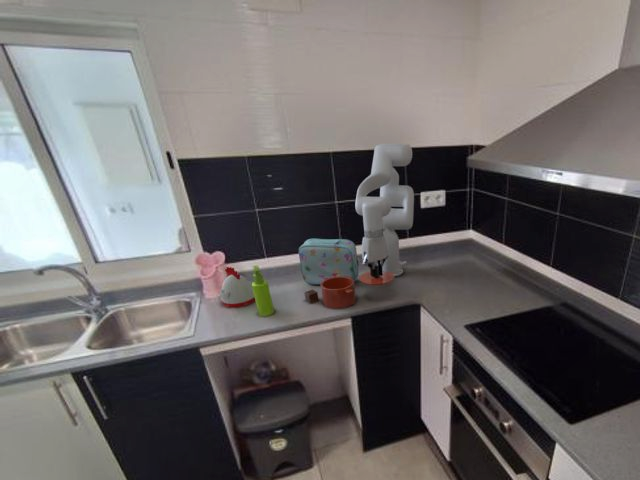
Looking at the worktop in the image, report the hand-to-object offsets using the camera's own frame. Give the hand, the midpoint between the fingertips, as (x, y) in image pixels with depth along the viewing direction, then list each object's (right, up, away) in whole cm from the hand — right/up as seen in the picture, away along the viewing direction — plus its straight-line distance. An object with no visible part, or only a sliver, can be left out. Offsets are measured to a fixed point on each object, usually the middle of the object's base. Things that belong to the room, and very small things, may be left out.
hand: (376, 275), depth 160 cm
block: (-28, -11, +3) cm, 30 cm away
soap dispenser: (-44, -16, -6) cm, 47 cm away
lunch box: (-23, -1, +20) cm, 30 cm away
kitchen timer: (-60, -10, +5) cm, 61 cm away
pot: (-16, -11, +2) cm, 20 cm away
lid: (0, -1, +1) cm, 1 cm away
